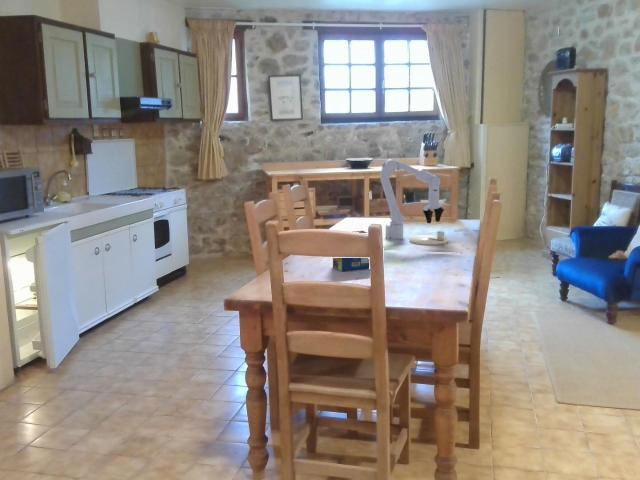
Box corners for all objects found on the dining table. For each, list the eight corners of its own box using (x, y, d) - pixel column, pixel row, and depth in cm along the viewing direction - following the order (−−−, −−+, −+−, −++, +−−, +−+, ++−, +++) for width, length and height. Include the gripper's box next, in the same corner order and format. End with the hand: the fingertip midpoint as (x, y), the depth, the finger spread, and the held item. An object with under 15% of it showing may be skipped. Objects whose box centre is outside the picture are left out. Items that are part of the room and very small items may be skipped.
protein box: (332, 266, 273) (332, 232, 270) (363, 263, 278) (363, 230, 275) (341, 272, 263) (341, 236, 260) (373, 268, 268) (373, 234, 266)
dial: (401, 241, 323) (401, 230, 322) (425, 236, 336) (425, 225, 335) (431, 246, 308) (431, 234, 307) (455, 241, 321) (455, 230, 320)
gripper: (431, 199, 322) (430, 224, 324) (447, 197, 331) (447, 221, 334) (420, 198, 327) (420, 223, 329) (437, 196, 336) (436, 220, 339)
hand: (433, 222), depth 332 cm, fingers open, 7 cm apart
